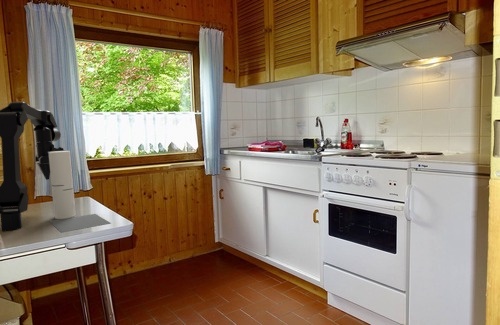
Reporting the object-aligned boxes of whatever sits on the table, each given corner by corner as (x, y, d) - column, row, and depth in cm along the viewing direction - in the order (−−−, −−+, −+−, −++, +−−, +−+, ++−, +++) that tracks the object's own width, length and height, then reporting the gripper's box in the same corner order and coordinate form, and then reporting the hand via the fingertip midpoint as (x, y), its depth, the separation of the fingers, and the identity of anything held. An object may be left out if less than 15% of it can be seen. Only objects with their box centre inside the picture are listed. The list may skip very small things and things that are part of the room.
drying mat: (111, 224, 122) (111, 223, 122) (61, 233, 112) (61, 232, 112) (94, 214, 137) (94, 213, 137) (49, 222, 128) (49, 221, 128)
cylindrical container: (56, 216, 137) (50, 151, 135) (76, 213, 140) (71, 150, 137) (53, 220, 131) (46, 152, 128) (74, 218, 133) (68, 151, 130)
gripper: (70, 141, 144) (73, 179, 145) (61, 141, 158) (64, 175, 160) (38, 142, 137) (42, 182, 138) (32, 142, 152) (36, 178, 153)
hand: (47, 179), depth 147 cm, fingers closed
